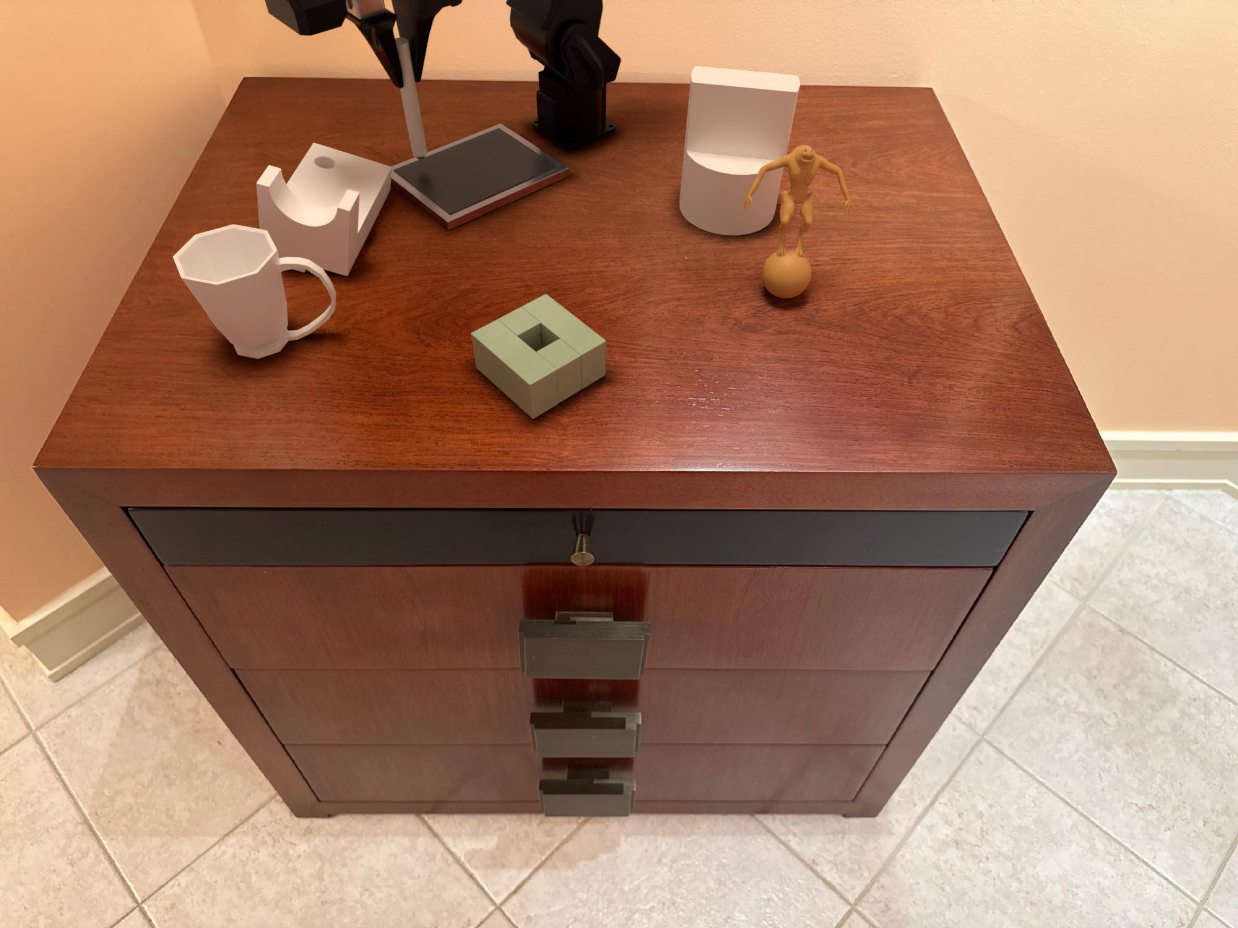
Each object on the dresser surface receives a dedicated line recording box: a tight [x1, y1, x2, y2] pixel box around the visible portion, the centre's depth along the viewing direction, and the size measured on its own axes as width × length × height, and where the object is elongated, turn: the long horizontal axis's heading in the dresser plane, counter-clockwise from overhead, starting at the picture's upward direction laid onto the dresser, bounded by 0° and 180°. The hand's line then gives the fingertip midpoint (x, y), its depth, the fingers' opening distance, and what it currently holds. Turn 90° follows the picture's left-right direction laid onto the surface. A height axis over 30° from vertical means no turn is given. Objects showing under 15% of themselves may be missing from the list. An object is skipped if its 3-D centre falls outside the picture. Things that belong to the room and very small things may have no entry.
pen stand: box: [470, 293, 607, 420], centre depth 60 cm, size 7×7×4 cm
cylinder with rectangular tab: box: [678, 65, 801, 236], centre depth 71 cm, size 9×9×12 cm
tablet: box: [390, 123, 570, 231], centre depth 78 cm, size 14×11×1 cm
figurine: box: [744, 144, 851, 299], centre depth 64 cm, size 8×6×12 cm
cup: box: [172, 223, 337, 360], centre depth 60 cm, size 7×10×8 cm
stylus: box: [395, 37, 428, 159], centre depth 72 cm, size 1×1×11 cm
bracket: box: [255, 142, 392, 277], centre depth 69 cm, size 13×7×8 cm, turn 174°
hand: (407, 84), depth 71 cm, fingers closed on stylus, 1 cm apart
